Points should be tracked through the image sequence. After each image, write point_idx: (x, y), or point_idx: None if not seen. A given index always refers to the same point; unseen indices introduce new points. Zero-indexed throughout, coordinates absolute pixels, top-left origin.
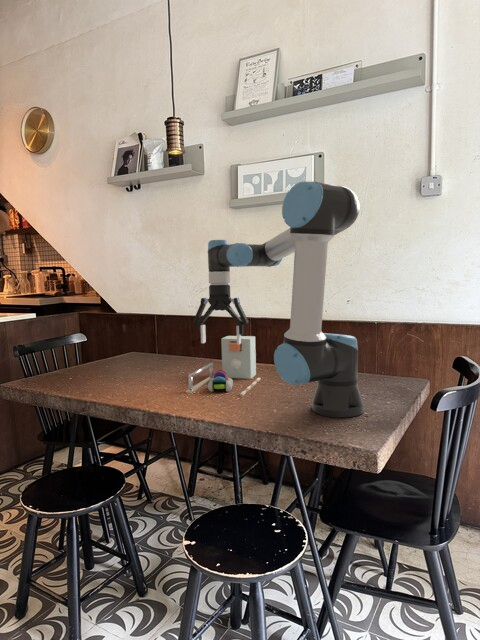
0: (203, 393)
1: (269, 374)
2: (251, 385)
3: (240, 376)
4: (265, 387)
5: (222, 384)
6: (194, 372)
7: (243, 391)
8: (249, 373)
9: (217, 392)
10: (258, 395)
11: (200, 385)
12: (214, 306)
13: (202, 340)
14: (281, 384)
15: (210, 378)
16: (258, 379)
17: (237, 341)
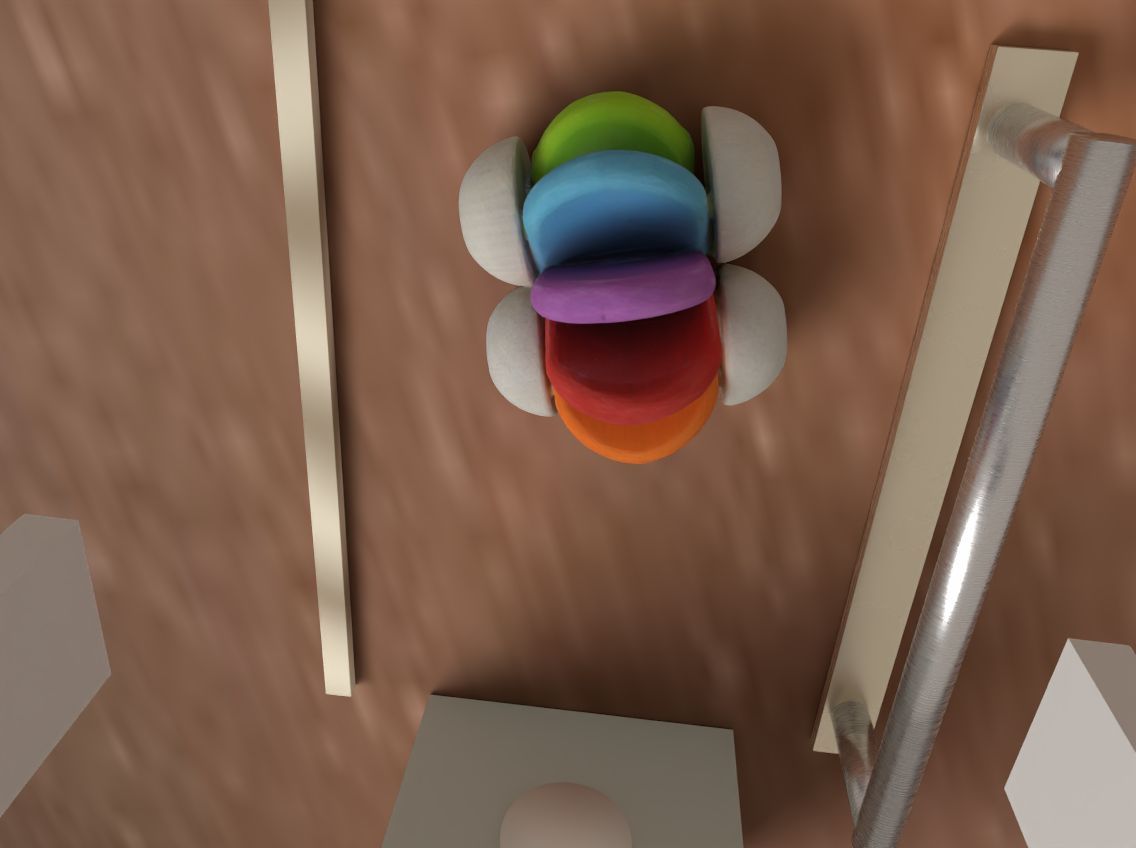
0: (813, 51)
1: (312, 834)
2: (310, 410)
3: (535, 722)
4: (171, 404)
5: (562, 153)
6: (1047, 319)
7: (305, 137)
8: (430, 737)
9: None
10: (108, 55)
11: (914, 360)
12: None
13: (1120, 704)
14: None
15: (847, 652)
16: (324, 638)
17: (11, 567)
